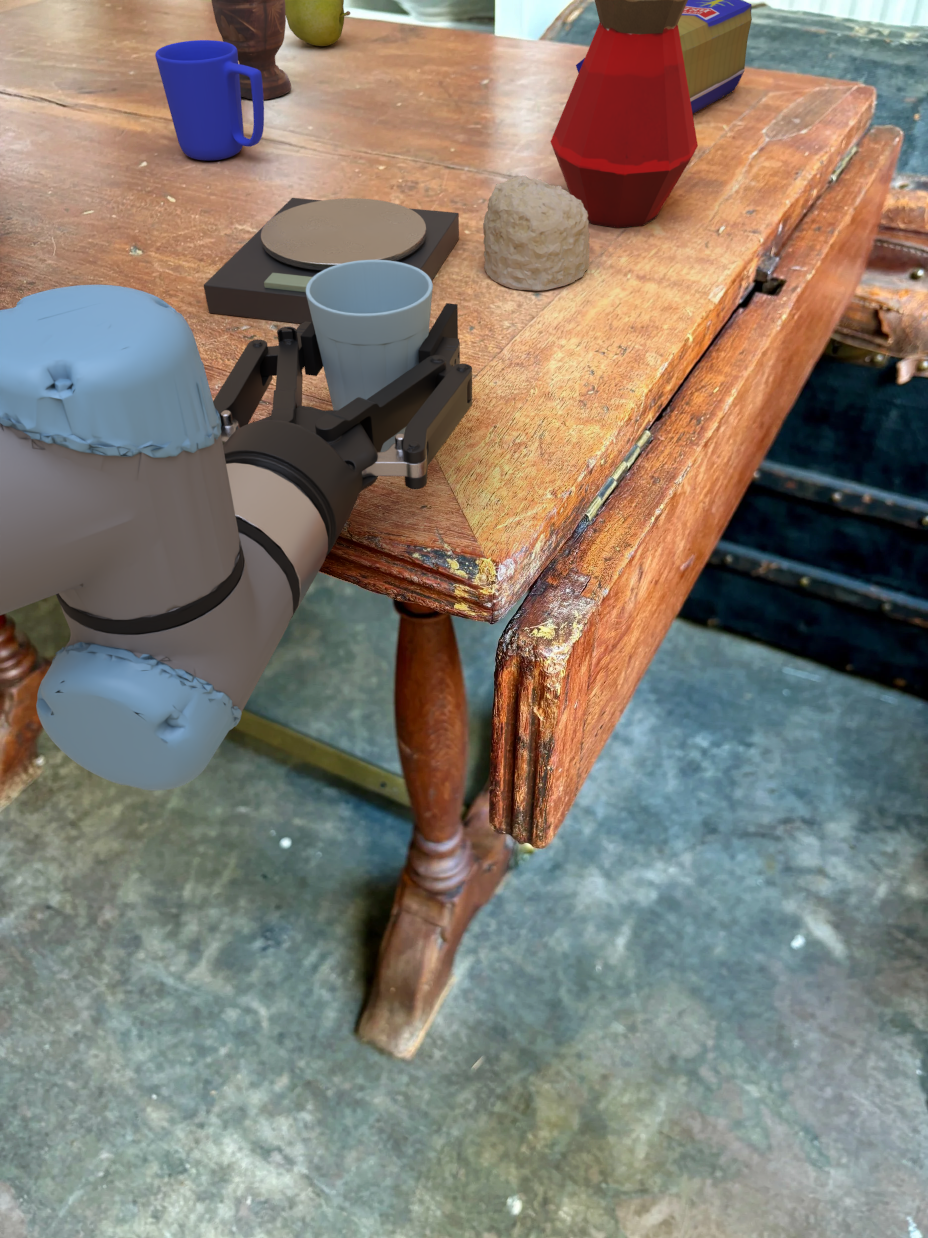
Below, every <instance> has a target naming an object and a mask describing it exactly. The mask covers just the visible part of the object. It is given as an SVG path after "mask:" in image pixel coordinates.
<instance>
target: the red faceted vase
mask: <svg viewBox="0 0 928 1238" xmlns="http://www.w3.org/2000/svg"><path fill="white" fill-rule="evenodd" d="M687 1H688V0H594V3H595V8H596V12H597V16H598V21H599V23H598V25H597V28H596V30H595V32H594V35H593V38H592V40H591V42H590V44H589V47H588V49H587V52H586V54H585V57H584V58H585V59H584V58H583V59H584V62H583V64H582V66H581V69H580V71H579V73H578V74H577V77H576V79H575V81H574V83H573V86H572V89H571V91H570V93H569V96H568V98H567V100H566V103H565V105H564V107H563V110H562V112H561V114H560V118H559V119H558V122H557V125H556V127H555V130H554V131H553V134H552V137H551V139H550V144H551V147H552V150H553V152H554V155H555V158H556V160H557V163H558V166H559V168H560V171H561V174H562V177H563V179H564V182H565V185H566V187H567V189H568V192H569V193H570V194H571V195H573V196H574V197H575V198H576V199H579V200H581V202H582V203H583V206H584V208H585V210H586V211H587V213H588V221H589V224H591V225H596V226H601V227H607V228H614V229H621V228H620V227H624V228H631V227H630V226H635V227H643V226H646V225H647V224H650V222H652V221H654V220H656V219H657V217H658V215H659V213H660V212H661V211H662V209H663V207H664V205H665V203H666V202H667V200H668V198H669V196H670V195H671V193H672V192H673V190H674V189H675V187H676V185H677V184H678V181H679V180H680V178H681V177H682V175H683V173H684V171H685V170H686V168H687V167H688V165H689V163H690V162H691V160H692V158H693V156H694V154H695V152H696V150H697V149H698V146H699V144H698V138H697V131H696V126H695V120H694V113H693V114H692V108H691V102H690V95H689V89H688V83H687V77H686V71H685V65H684V59H683V53H682V47H681V41H680V35H679V29H678V22H679V20H680V17H681V15H682V13H683V10H684V8H685V6H686V4H687ZM642 225H643V226H642Z"/></svg>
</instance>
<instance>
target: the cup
mask: <svg viewBox="0 0 928 1238" xmlns="http://www.w3.org/2000/svg"><path fill="white" fill-rule="evenodd" d="M433 290H434V284H433V280H432V281H431V279H430V277H429V276H428V275H427V274H426V273H425V272H423V271H422V270H420V269H418V268H416V267H414V266H411V265H408V264H405V263H401V262H395V261H388V260H360V261H353V262H347V263H342V264H338V265H335V266H332V267H330V268H327V269H325V270H323V271H321V272H319V273H318V274H316V275H315V276H314V277H312V279H311V280H310V281H309V282H308V284H307V286H306V295H307V300H308V304H309V308H310V313H311V317H312V321H313V325H314V329H315V333H316V337H317V342H318V346H319V350H320V354H321V359H322V363H323V371H324V376H325V380H326V384H327V388H328V393H329V397H330V401H331V405H332V410H340V409H341V408H343V407H344V406H346V405H347V404H348V403H350V402H351V401H353V400H354V399H356V398H358V397H360V398H363V399H368V398H369V397H371V396H372V395H374V394H375V393H377V392H378V391H380V390H381V389H382V388H384V387H385V386H387V385H388V384H390V383H391V382H393V381H394V380H396V379H397V378H399V377H400V376H401V375H403V374H404V373H406V372H407V371H409V370H410V369H412V368H413V367H415V366H416V365H417V364H419V352H418V350H419V348H420V347H421V345H422V343H423V342H424V340H425V339H426V338H427V337H428V335H429V331H430V323H431V314H432V301H433ZM406 427H407V426H406ZM406 427H405V428H404V429H402V430H401V431H400V432H398V433H397V434H399V433H402V434H404V433H405V429H406ZM397 434H396V435H397ZM396 435H394V436H393V437H391V438H390V439H389V440H387V441H386V442H385V443H384V444H383V446H382V449H381V452H384V451H386V450H388V449H389V448H390V446H391V445H392V444H393V443H395V436H396Z"/></svg>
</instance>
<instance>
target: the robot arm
mask: <svg viewBox="0 0 928 1238" xmlns="http://www.w3.org/2000/svg"><path fill="white" fill-rule="evenodd" d="M458 307H459V306H458V304H456V303H450V302H449V303H448V302H446V303H445V304H444V306H443V308H442V310H441V312H440V313H439V315H438V316H437V318H436V320H435V322H434V323H433V325H432V327H431V328H430V329H429V335H428V337H427V338H426V339H425V340H424V342H423V343H422V345H421V347H420V348H419V350H418V352H419V364H417V365H416V366H415V367H413V368H412V369H410V370H409V371H407V372H406V373H404V374H403V375H401V376H400V377H399V378H397V379H396V380H394V381H393V382H391V383H390V384H388V385H387V386H385V387H384V388H382V389H381V390H380V391H378V392H377V393H375V394H374V395H372V396H371V397H369V398H368V399H363V398H360V397H358V398H356V399H354V400H353V401H351V402H350V403H348V404H347V405H346V406H344V407H343V408H341V409H340V410H333V409H332V410H330V409H329V410H324V409H319V408H317V407H313V406H308V405H303V384H304V383H303V379H304V376H303V369H304V375H305V376H311V377H317V376H318V375H319V373H320V372H321V371H322V369H324V367H323V363H322V359H321V354H320V350H319V346H318V342H317V337H316V333H315V329H314V325H313V321H312V322H304V323H302V324H300V323H299V325H298V326H297V327H293V326H282V327H279V328H278V329H277V330H276V334H277V340H278V341H277V342H278V345H269V346H268V341H266V340H264V339H253V340H251V341H249V342H248V343H247V345H246V346H245V347H244V350H243V351H242V353H241V354H240V356H239V357H238V359H237V361H236V363H235V364H234V365H233V368H232V369H231V371H230V372H229V374H228V376H227V378H226V379H225V381H224V382H223V384H222V385H221V387H220V389H219V391H218V392H217V393H216V396H215V398H213V396H212V393H211V388H210V384H209V380H208V377H207V373H206V370H205V364H204V362H203V360H202V358H201V355H200V351H199V348H198V343H197V341H196V338H195V335H194V333H193V331H192V327H190V324H189V323H188V321H187V320H186V319H185V317H184V315H183V314H182V313H180V312H178V311H177V310H176V309H175V308H174V307H173V306H172V305H170V304H169V303H168V302H166V301H165V300H163V299H162V298H160V297H158V296H157V295H154V294H152V293H150V292H148V291H147V292H146V291H144V290H140V289H136V288H132V287H128V286H127V287H126V286H121V285H114V284H77V285H71V286H70V285H69V286H63V287H56V288H51V289H46V290H42V291H40V292H36V293H31V294H29V295H26V296H23V297H21V299H19V301H17V303H16V306H14V307H10V308H4V309H0V616H3V615H5V614H7V613H10V612H13V611H15V610H18V609H21V608H24V607H26V606H28V605H31V604H35V603H37V602H40V601H42V600H45V599H47V598H50V597H54V596H56V599H57V600H58V603H59V605H60V608H61V610H62V613H63V616H64V618H65V621H66V623H67V625H68V627H69V630H70V636H69V641H68V642H67V643H66V645H65V646H62V647H61V648H60V649H59V650H57V651H56V652H55V653H54V654H55V656H53V658H52V661H51V664H50V666H49V668H48V670H47V672H46V673H45V674H44V675H45V676H44V677H43V678H42V680H41V681H40V685H39V687H38V691H37V701H36V703H35V705H36V706H35V707H36V713H37V717H38V719H39V723H40V724H41V726H42V728H43V730H44V732H45V733H46V735H47V736H48V738H49V739H50V740H51V741H52V743H53V744H55V745H56V747H57V748H58V749H59V750H60V751H61V752H62V753H63V754H64V755H65V756H67V757H68V758H69V759H71V760H72V761H73V762H75V763H76V764H77V765H78V766H80V767H81V768H83V769H84V770H87V771H88V772H90V773H92V774H93V775H95V776H98V777H100V778H102V779H104V780H106V781H108V782H111V783H114V784H117V785H119V786H120V785H121V786H126V787H132V788H136V789H140V790H143V791H153V792H155V791H157V792H158V791H167V790H174V789H177V788H180V787H182V786H185V785H187V784H189V783H190V782H192V781H194V780H195V779H196V778H198V777H199V776H200V775H201V774H202V773H203V772H204V771H205V769H206V768H207V767H208V765H209V763H210V761H211V760H212V758H213V757H214V755H215V753H216V752H217V750H218V749H219V748H220V746H221V744H222V743H223V742H224V739H225V738H226V737H227V735H228V733H229V732H230V731H231V730H232V729H234V727H235V728H236V727H237V725H239V723H240V721H241V719H242V715H243V713H242V712H243V710H244V709H245V707H246V705H247V703H248V701H249V699H250V697H251V696H252V694H253V692H254V690H255V688H256V686H257V684H258V682H259V681H260V679H261V677H262V675H263V673H264V672H265V670H266V668H267V667H268V664H269V663H270V660H271V658H272V657H273V655H274V653H275V651H276V649H277V647H278V645H279V643H280V641H281V640H282V638H283V636H284V634H285V632H286V630H287V629H288V628H289V625H290V622H291V620H292V619H293V616H294V615H295V613H296V611H297V610H298V609H299V607H300V605H302V602H303V600H304V598H305V597H306V594H307V593H308V591H309V590H310V588H311V586H312V584H313V582H314V580H315V579H316V577H317V575H318V574H319V571H320V570H321V568H322V566H323V564H324V562H325V560H326V557H327V556H328V555H329V554H330V552H331V551H332V549H333V547H334V545H335V544H336V542H337V540H338V539H339V537H340V535H341V533H342V531H343V530H344V528H345V526H346V524H347V522H348V521H349V519H350V517H351V515H352V513H353V510H354V509H355V506H356V503H357V500H358V497H359V495H360V494H361V493H362V492H363V491H365V490H366V489H367V488H370V487H371V486H373V485H374V484H375V483H376V482H377V480H378V478H379V477H398V478H399V477H402V478H403V477H404V485H405V487H406V488H408V489H410V490H421V489H423V488H425V487H426V486H427V484H428V473H429V465H430V464H431V463H432V461H433V460H434V459H435V457H436V456H437V455H438V453H439V452H440V450H442V447H443V446H444V445H445V443H447V441H448V439H449V438H450V437H451V435H452V433H453V432H454V431H455V430H456V428H457V427H458V425H459V424H460V423H461V421H462V420H463V418H465V416H466V414H467V413H468V411H469V410H470V409H471V407H472V406H473V367H472V366H471V365H470V364H468V363H461V342H460V338H459V315H458V313H459V311H458V310H459V309H458ZM275 376H276V378H275V389H274V390H273V397H272V409H271V411H270V412H271V413H270V415H269V416H266V417H264V418H262V419H259V420H255V421H252V422H250V421H251V419H252V418H253V416H254V414H255V412H256V410H257V408H258V407H259V404H260V403H261V401H262V399H263V397H264V396H265V394H266V392H267V390H268V388H269V387H270V385H271V383H272V381H273V378H274V377H275ZM406 426H407V427H406ZM405 427H406V429H405V433H404V434H402V433H399V434H397V433H398V432H400V431H401V430H402V429H404V428H405ZM396 434H397V435H396ZM394 435H396V436H395V443H393V444H392V445H391V446H390V448H389V449H388V450H386V451H384V452H381V449H382V446H383V444H384V443H385V442H386V441H387V440H389V439H390V438H391V437H393V436H394Z"/></svg>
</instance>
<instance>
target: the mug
mask: <svg viewBox="0 0 928 1238" xmlns="http://www.w3.org/2000/svg"><path fill="white" fill-rule="evenodd" d="M154 56H155V60H156V64H157V67H158V71H159V75H160V79H161V82H162V86H163V90H164V94H165V97H166V101H167V104H168V105H167V106H168V109H169V113H170V116H171V120H172V124H173V127H174V131H175V135H176V139H177V142H178V145H179V148H180V149H181V151H182V152H183V154H184V155H185V156H187V157H188V158H191V159H193V160H197V161H208V162H209V161H219V160H221V161H222V160H224V159H229V158H232V157H233V156H236V155H238V154H239V153H240V152H241V151H242V149H243V147H247V148H251V147H254V146H255V145H257V144H259V142H260V141H261V139H262V137H263V134H264V126H265V102H264V100H263V85H262V75H261V72H260V71H259V70H258V69H255V68H252V67H249V66H245V65H241V64H239V61H238V53H237V48H236V47H235V46H234V45H232V44H230V43H227V42H223V40H210V39H199V40H198V39H197V40H186V41H178V42H175V43H171V44H167V45H165V46H162V47H160V48H158V49H157V50H156V51H155V54H154ZM239 74H242V75H245V76H248V77H249V78H250V81H251V89H252V99H251V101H252V113H253V114H252V115H253V116H252V117H253V126H252V134H251V137H250V138H248V137H245V133H244V131H245V130H244V120H243V107H242V97H241V92H240V79H239Z"/></svg>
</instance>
